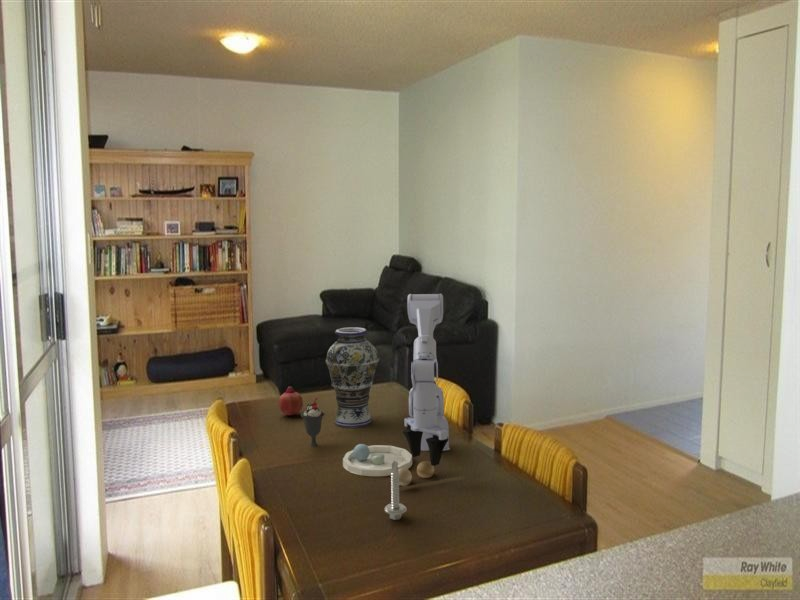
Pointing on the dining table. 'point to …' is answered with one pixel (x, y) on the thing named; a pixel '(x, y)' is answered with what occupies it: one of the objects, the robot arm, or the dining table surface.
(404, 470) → the bead birch
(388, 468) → the tray
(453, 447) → the dining table surface
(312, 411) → the sundae
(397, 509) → the screw
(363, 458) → the bead blue
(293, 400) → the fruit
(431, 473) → the bead oak
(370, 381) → the vase
